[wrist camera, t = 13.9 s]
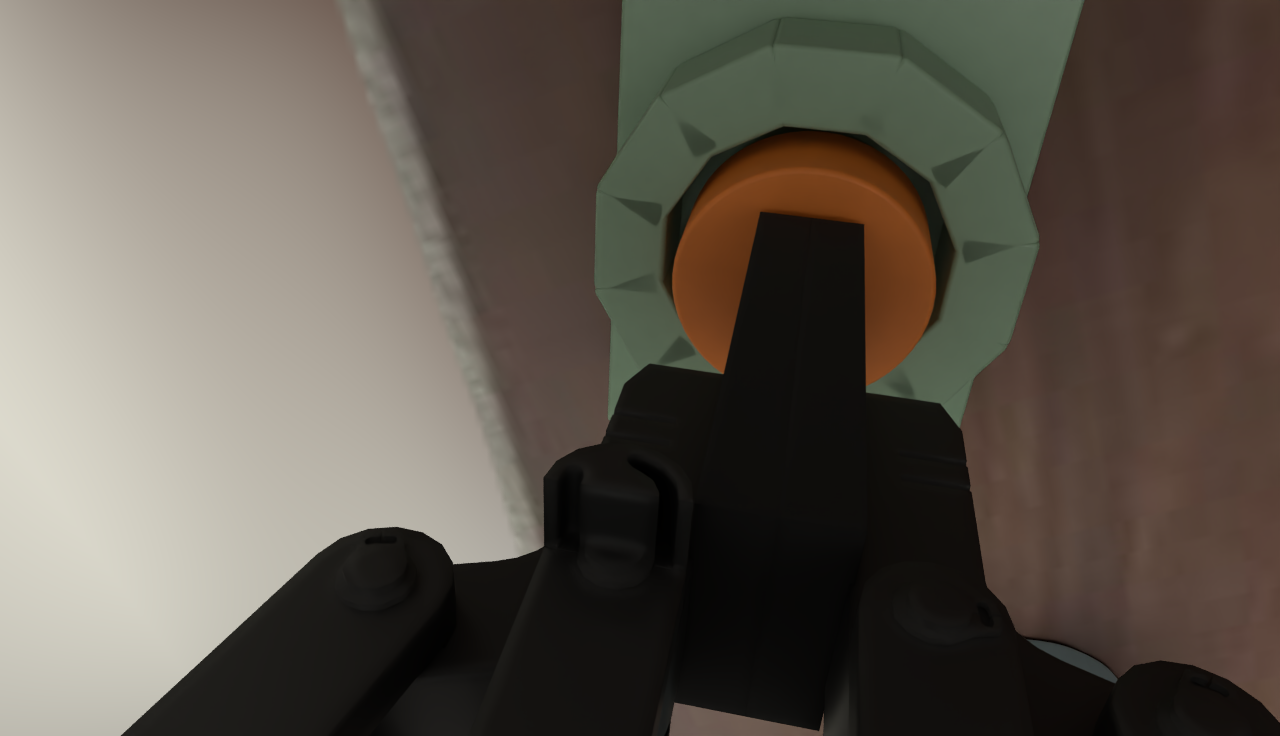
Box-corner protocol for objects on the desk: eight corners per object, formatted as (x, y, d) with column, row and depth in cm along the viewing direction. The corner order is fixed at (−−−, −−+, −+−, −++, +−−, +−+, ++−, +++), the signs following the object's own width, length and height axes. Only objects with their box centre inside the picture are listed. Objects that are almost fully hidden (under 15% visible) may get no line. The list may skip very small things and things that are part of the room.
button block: (651, -120, 16) (598, -92, 13) (1075, -89, 15) (1137, -50, 12) (628, 366, 22) (586, 474, 18) (939, 412, 21) (954, 535, 17)
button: (697, 115, 15) (680, 153, 13) (954, 143, 14) (965, 185, 13) (680, 330, 17) (663, 382, 16) (902, 362, 17) (906, 419, 15)
